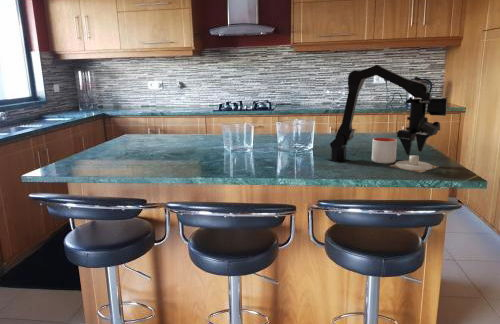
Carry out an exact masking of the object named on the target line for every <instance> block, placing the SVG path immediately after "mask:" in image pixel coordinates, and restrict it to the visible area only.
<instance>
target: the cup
mask: <svg viewBox="0 0 500 324" xmlns="http://www.w3.org/2000/svg"><path fill="white" fill-rule="evenodd" d="M397 144H398V140H397V139H396V138H392V137H375V138H372V144H371V145H372V147H371V161H372V162H374V163H378V164H392V163H396V161H397V146H398V145H397Z"/></svg>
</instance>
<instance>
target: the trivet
mask: <svg viewBox="0 0 500 324" xmlns="http://www.w3.org/2000/svg"><path fill="white" fill-rule="evenodd" d="M431 165H432V164H431ZM389 167H390V168H395V169H401V168H398V167H396V166H395V163H394V164H391V165H389ZM436 168H439V165H438V166H437V165H432V169H430V170H425V171H413V170H408V171H410V172H415V173H418V174H421V173H424V172H428V171H431V170H433V169H436ZM401 170H402V169H401ZM403 170H405V169H403ZM405 171H406V170H405Z"/></svg>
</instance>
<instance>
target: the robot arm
mask: <svg viewBox="0 0 500 324" xmlns="http://www.w3.org/2000/svg"><path fill="white" fill-rule="evenodd" d="M374 76H376V77H378V78H382V79H383V80H386V81H388V82H389V83H392V84H394V85H396V86H397V87H399V88H402V89H403V90H404V91H406V93H408V94H409V95H411V96H410V97H409V98H408V99H407V100H405V103H406V104H410V107H409V116H407V117H406V120H407V121H408V127H406V128H404V129H399V130H397V132H396V138H398V140H399V141H400V143H401V144H402V148H403V149H404V151H405V154H406V155H407V156H410V155H411V149H412V147H413V146H412V145H413V142H414V141H416V144H417V145H416V146H417V149H418V152H422V151H423V149H424V146H425V144H426V142H427V140H428V139H429V138H430V137H432V136H435V135H437V134H438V132H439V131H441V123H440V122H439V121H437V120H436V121H433V122H429V121H428V120H429V119H428V117H427V116H426V113H428V114H429V116H439V117H440V116H443V117H446V116H447V110H448V98H447V97H442V98H441V97H440V98H439V97H438V98H435V97H433V96H432V95H431V93H430V92H429V87H428V84H426V83H425V82H421V81H418V80H414V79H410V78H407V77H404V76H403V75H400V74H398V73H396V72H393V71H392V70H390V69H387V68H385V67H383V66H382V65H380V64H374V65H373V66H370V67H368V68H364V69H361V70H360V69H358V70H357V69H356V70H355V69H354V70H353V71H350V72H349V74H348V76H347V90H348V93H347V97H346V103H345V106H344V111H343V116H342V121H341V123H340V126H339V128H338V130H337V132H336V135H335V137H334V139H333V140H332V141H331V142H330V143H329V146H330V148H331V153H330V154H331V157H330V158H328V160H329V161H331V162H337V163H343V162H346V161H349V158H347V146H348V143H349V142H351V141H352V139H354V134H355V131H356V129H355V128H353V121H354V116H355V112H356V107H357V103H358V98H359V93H360V91H361V89H362V88H363V86H364V83H365V80H367V79H370V78H372V77H374ZM413 97H414V98H413ZM422 100H423V101H422Z"/></svg>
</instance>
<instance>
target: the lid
mask: <svg viewBox="0 0 500 324" xmlns="http://www.w3.org/2000/svg"><path fill="white" fill-rule="evenodd" d="M408 156H409V157H408V158H409V159H408V160H398V161H395V162H394V164H395V166H396V167H398V168H397V169H399V168H401V170H404V169H405V171H409V170H413V171H412V172H414V171H425V170H428V171H431V170H433V169H432V164H431V163H429V162H425V161H420V156H419V155H411V154H410V155H408ZM430 169H431V170H430ZM425 172H426V171H425Z"/></svg>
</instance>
